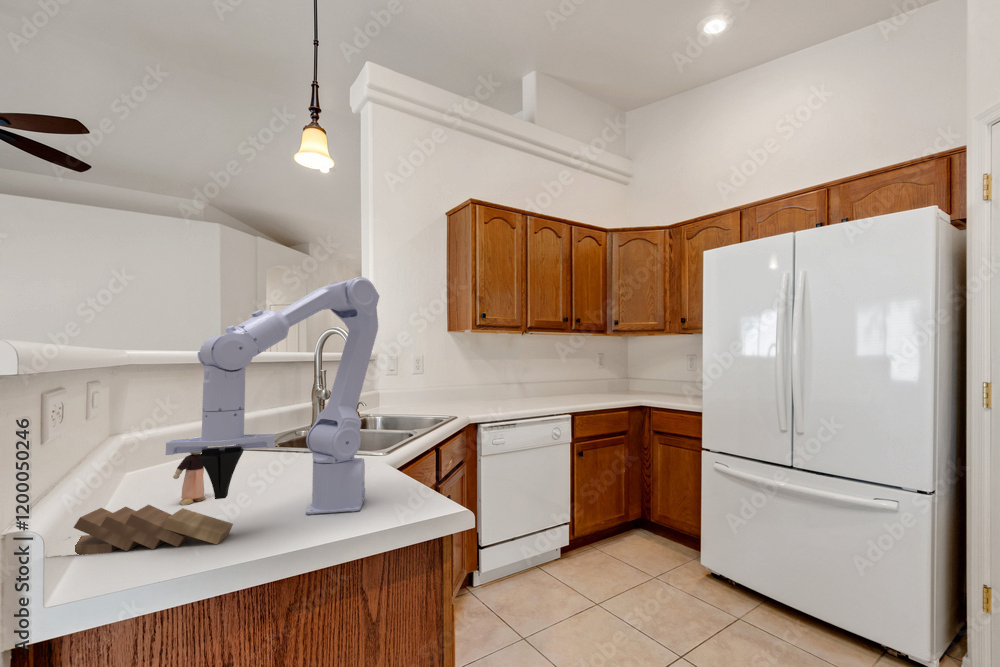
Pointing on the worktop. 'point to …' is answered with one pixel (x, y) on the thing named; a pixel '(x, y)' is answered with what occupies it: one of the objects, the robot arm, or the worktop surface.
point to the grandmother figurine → (191, 478)
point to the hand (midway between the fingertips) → (221, 497)
